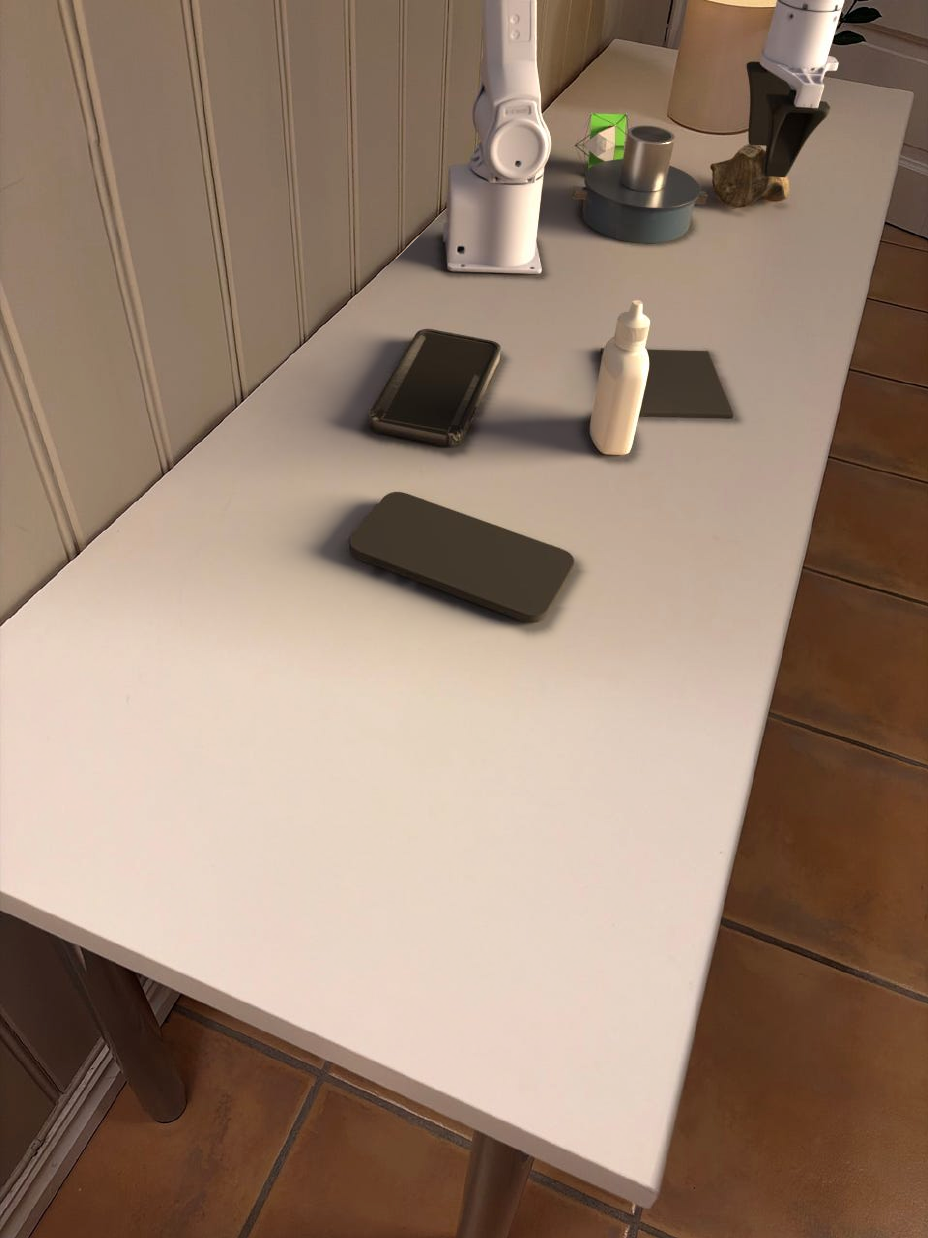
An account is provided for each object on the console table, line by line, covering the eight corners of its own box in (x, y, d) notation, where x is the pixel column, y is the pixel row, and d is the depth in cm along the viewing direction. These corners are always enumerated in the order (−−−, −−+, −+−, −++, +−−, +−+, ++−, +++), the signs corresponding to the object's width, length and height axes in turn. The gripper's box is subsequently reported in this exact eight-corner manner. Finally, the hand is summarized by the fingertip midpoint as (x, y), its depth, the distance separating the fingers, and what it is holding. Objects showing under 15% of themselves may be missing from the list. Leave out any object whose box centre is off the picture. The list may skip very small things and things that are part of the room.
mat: (616, 415, 83) (617, 411, 82) (600, 351, 90) (600, 347, 89) (732, 418, 84) (733, 414, 83) (707, 354, 90) (708, 350, 90)
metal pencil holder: (623, 191, 105) (631, 142, 101) (616, 171, 108) (624, 123, 104) (669, 192, 105) (679, 144, 101) (660, 173, 108) (670, 125, 105)
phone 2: (540, 621, 65) (341, 546, 68) (538, 630, 65) (341, 554, 69) (579, 554, 69) (391, 487, 73) (577, 562, 70) (391, 495, 74)
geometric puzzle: (569, 136, 119) (583, 94, 111) (624, 137, 120) (642, 95, 112) (572, 192, 118) (587, 153, 110) (628, 192, 119) (647, 154, 111)
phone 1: (365, 418, 78) (419, 326, 88) (365, 430, 79) (419, 337, 89) (460, 438, 77) (504, 342, 87) (459, 449, 78) (503, 353, 88)
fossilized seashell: (777, 160, 117) (695, 175, 116) (795, 122, 110) (708, 138, 110) (793, 216, 115) (710, 232, 115) (812, 181, 109) (724, 197, 109)
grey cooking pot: (577, 242, 105) (583, 204, 102) (564, 191, 113) (568, 156, 110) (711, 246, 106) (721, 210, 103) (688, 196, 114) (696, 161, 111)
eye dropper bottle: (573, 446, 79) (596, 310, 71) (598, 411, 83) (622, 278, 74) (623, 463, 78) (653, 327, 70) (646, 427, 82) (677, 294, 73)
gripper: (877, 30, 82) (824, 192, 92) (833, -18, 92) (790, 133, 102) (794, 25, 82) (750, 188, 92) (759, -23, 92) (723, 129, 102)
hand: (766, 159), depth 97 cm, fingers open, 7 cm apart
